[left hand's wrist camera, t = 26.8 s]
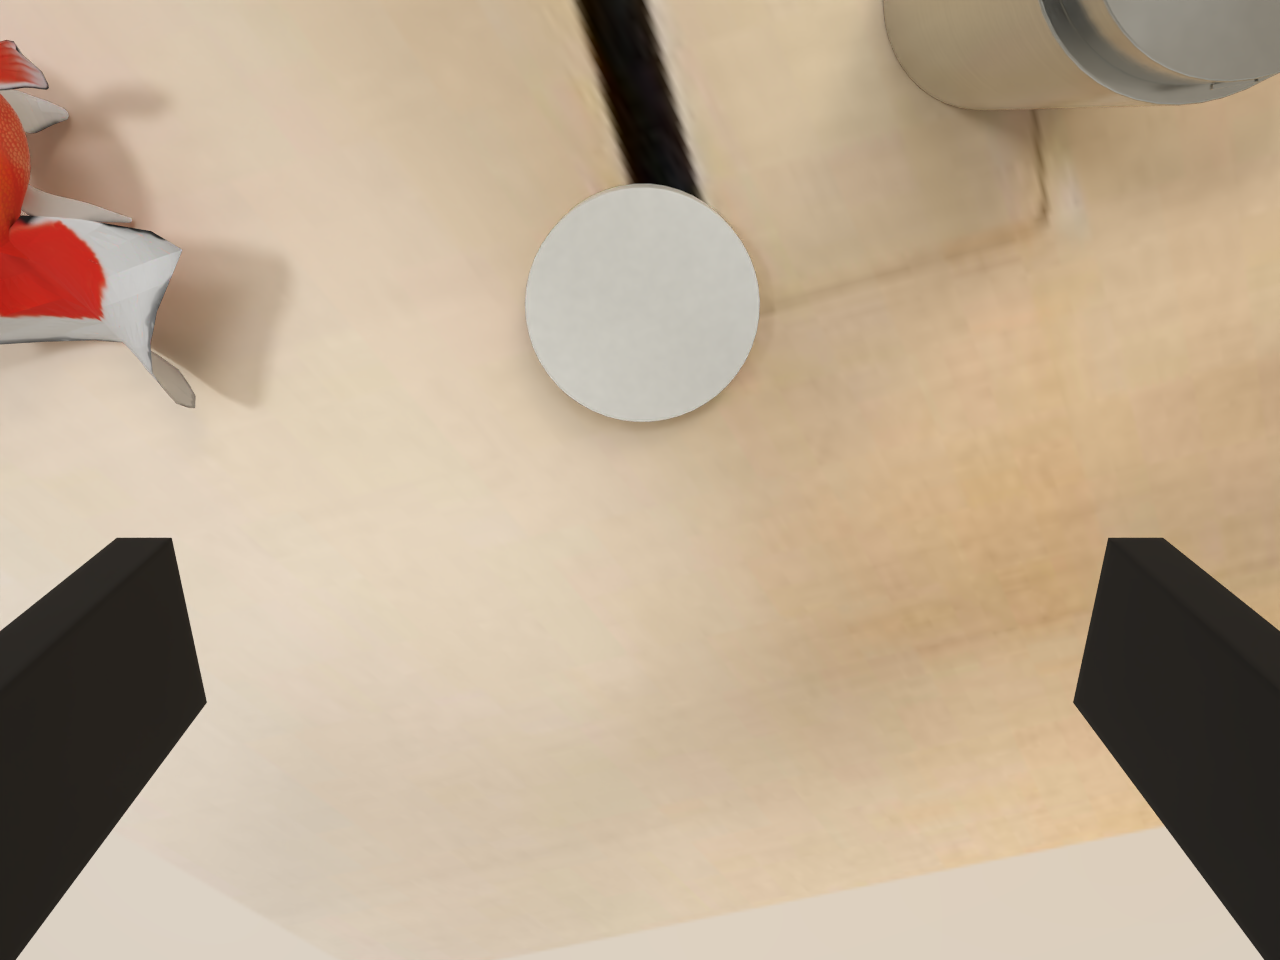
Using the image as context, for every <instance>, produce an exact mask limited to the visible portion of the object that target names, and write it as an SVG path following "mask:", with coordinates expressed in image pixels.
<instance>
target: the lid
mask: <svg viewBox="0 0 1280 960" xmlns="http://www.w3.org/2000/svg"><path fill="white" fill-rule="evenodd" d="M759 310H760V298H759V286H758V282H757V277H756V273H755V270H754V267H753V264H752V261H751V259H750V256H749V254H748V252H747V250H746V249H745V247H744V245H743V243H742V241H741V240H740V239H739V237H738V236H737V234H736V233H735V232H734V230H733V229H732V228H731V227H730V225H729V224H728V223H727V222H726V221H725V220H724V219H723V218H722V217H721V216H720V215H719V214H718V213H717V212H716V211H715V210H714V209H712V208H711V207H710V206H709V205H707V204H706V203H704V202H703V201H701V200H699V199H698V198H696V197H694V196H693V195H690V194H688V193H686V192H683V191H681V190H678V189H675V188H671V187H668V186H663V185H656V184H629V185H622V186H617V187H614V188H610V189H607V190H604V191H601V192H599V193H597V194H595V195H592V196H590V197H589V198H587V199H585V200H584V201H582V202H580V203H579V204H577V205H576V206H575V207H574V208H572V209H571V210H570V211H569V212H568V213H566V214H565V215H564V217H563V218H562V219H561V220H560V221H559V222H558V223H557V224H556V225H555V226H554V228H553V229H552V230H551V232H550V233H549V234H548V236H547V237H546V239H545V240H544V242H543V243H542V245H541V247H540V248H539V250H538V252H537V254H536V256H535V258H534V261H533V264H532V267H531V270H530V272H529V277H528V282H527V286H526V296H525V313H526V322H527V328H528V333H529V336H530V339H531V343H532V346H533V348H534V351H535V353H536V355H537V357H538V359H539V361H540V363H541V364H542V366H543V367H544V369H545V371H546V372H547V374H548V375H549V376H550V377H551V379H552V380H553V381H554V382H555V383H556V385H557V386H558V387H559V388H561V389H562V390H563V391H564V392H565V393H566V394H567V395H568V396H569V397H571V398H572V399H574V400H575V401H576V402H578V403H579V404H581V405H583V406H585V407H586V408H588V409H590V410H592V411H594V412H597V413H599V414H602V415H604V416H607V417H611V418H615V419H619V420H625V421H634V422H651V421H659V420H666V419H670V418H673V417H677V416H680V415H683V414H685V413H688V412H690V411H693V410H695V409H696V408H698V407H700V406H702V405H704V404H706V403H707V402H708V401H710V400H711V399H712V398H714V397H715V396H716V395H718V394H719V393H720V392H721V391H722V390H723V389H724V388H725V387H726V386H727V385H728V384H729V383H730V382H731V381H732V379H733V378H734V377H735V376H736V375H737V373H738V372H739V370H740V369H741V367H742V365H743V364H744V362H745V361H746V359H747V356H748V354H749V352H750V350H751V348H752V345H753V342H754V339H755V336H756V332H757V327H758V321H759Z"/></svg>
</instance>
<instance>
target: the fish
mask: <svg viewBox="0 0 1280 960" xmlns="http://www.w3.org/2000/svg"><path fill="white" fill-rule="evenodd" d="M18 88H38V89H46V90H47V89H48V88H49V87H48V83H47V81H46V79H45V77H44V75H43V73H42V71H40V70H39V69H38V68H37V67H36V66H35V65H34V64H33V63H32V62H30V61H29V60H28V59H27V58H26V57H25V56H24V55H23V54H22V53H21V51H20V50H19V48H18V47H17V46H16V44H15V43H14V41H9V40H5V41H1V42H0V344H13V343H30V342H47V341H81V340H100V341H113V342H123V343H124V344H125V345H126V346H127V347H128V348H129V349H130V350H131V351H132V352H133V353H134V354H135V356H136V357H137V358H138V359H139V360H140V361H141V363H142V364H143V365H144V367H145V368H146V369H147V371H148V372H149V373H150V374H151V375H152V376H153V377H154V378H155V379H156V380H157V382H158V383H159V384H160V385H161V386H162V388H163V389H164V390H165V391H166V392H167V393H168V395H169V396H170V397H171V398H172V399H173V400H174V401H175V402H176V403H177V404H180V405H182V406H185V407H189V408H195V394H194V392H193V391H192V389H191V387H190V386H189V384H188V382H187V381H186V380H185V378H184V377H183V375H182V374H181V372H180V371H179V370H178V369H177V368H176V367H174V366H173V365H171V364H170V363H169V362H167V361H166V360H164V359H163V358H162V357H160V356H158V355H157V354H155V353H154V352H152V351H151V346H150V345H151V339H152V334H153V329H154V324H155V319H156V313H157V310H158V308H159V305H160V303H161V300H162V298H163V296H164V293H165V291H166V289H167V286H168V284H169V281H170V279H171V277H172V274H173V272H174V269H175V267H176V264H177V262H178V259H179V257H180V255H181V252H182V249H181V248H179V247H177V246H175V245H174V244H172V243H170V242H169V241H167V240H165V239H163V238H162V237H160V236H158V235H157V234H155V233H153V232H151V231H146V230H140V229H135V228H129V227H123V226H117V225H111V224H105V223H99V222H122V223H130V222H132V218H130V217H127V216H124V215H121V214H118V213H115V212H112V211H109V210H107V209H104V208H101V207H98V206H95V205H92V204H89V203H86V202H82V201H78V200H74V199H69V198H65V197H60V196H56V195H53V194H49V193H46V192H44V191H41V190H39V189H36V188H35V187H33V186H31V185H30V184H28V183H29V179H30V169H31V164H30V153H29V147H28V142H27V138H26V134H25V132H28V133H37V132H39V131H41V130H43V129H45V128H47V127H49V126H51V125H53V124H56V123H59V122H62V121H64V120H67V119H68V117H69V115H68V112H67V111H66V110H65V109H64V108H63V107H61V106H58V105H56V104H54V103H51V102H49V101H46V100H43V99H40V98H38V97H35V96H32V95H29V94H26V93H24V92H20V91H16V90H10V89H18ZM21 210H22V211H23V212H25V213H26V214H28V215H30V216H21V215H20V214H21Z"/></svg>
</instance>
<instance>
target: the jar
mask: <svg viewBox="0 0 1280 960" xmlns="http://www.w3.org/2000/svg"><path fill="white" fill-rule="evenodd" d="M883 9H884V18H885V25H886V29H887V33H888V38H889V41H890V43H891V46H892V49H893V51H894V54H895V56H896V57H897V59H898V61H899V63H900V65H901V66H902V68H903V69H904V70H905V72H906V73H907V75H908V76H909V77H910V78H911V79H912V80H913V81H914V82H915V83H916V84H917V85H918V86H919V87H920V88H921V89H922V90H923V91H925V92H926V93H928V94H929V95H930V96H932V97H934V98H936V99H937V100H939V101H941V102H943V103H946V104H949V105H951V106H954V107H958V108H963V109H968V110H1020V109H1058V108H1096V107H1134V106H1172V105H1187V104H1197V103H1203V102H1207V101H1212V100H1216V99H1220V98H1224V97H1227V96H1230V95H1232V94H1235V93H1238V92H1240V91H1243V90H1246V89H1248V88H1250V87H1252V86H1254V85H1256V84H1258V83H1260V82H1262V81H1264V80H1266V79H1268V78H1269V77H1271V76H1274V75H1276V74H1278V73H1280V0H883Z"/></svg>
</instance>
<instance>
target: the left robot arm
mask: <svg viewBox="0 0 1280 960" xmlns="http://www.w3.org/2000/svg"><path fill="white" fill-rule="evenodd" d="M206 703H207V701H206V697H205V692H204V687H203V683H202V678H201V673H200V669H199V664H198V659H197V655H196V650H195V645H194V640H193V636H192V631H191V626H190V622H189V617H188V612H187V608H186V603H185V598H184V594H183V589H182V584H181V580H180V575H179V570H178V565H177V561H176V556H175V551H174V547H173V542H172V538H116V539H115V540H114V541H112V542H111V543H110V544H109V545H107V546H106V547H105V548H104V549H102V550H101V551H100V552H99V553H97V554H96V555H95V556H94V557H92V558H91V559H90V560H89V561H87V562H86V563H85V564H84V565H82V566H81V567H80V568H79V569H77V570H76V571H75V572H74V573H72V574H71V575H70V576H69V577H67V578H66V579H65V580H64V581H62V582H61V583H60V584H59V585H57V586H56V587H55V588H54V589H52V590H51V591H50V592H49V593H47V594H46V595H45V596H44V597H42V598H41V599H40V600H39V601H37V602H36V603H35V604H34V605H32V606H31V607H30V608H29V609H27V610H26V611H25V612H24V613H22V614H21V615H20V616H19V617H17V618H16V619H15V620H14V621H12V622H11V623H10V624H9V625H7V626H6V627H5V628H4V629H2V630H1V631H0V960H16V959H17V957H18V956H19V955H20V953H21V952H22V950H23V949H24V948H25V946H26V945H27V944H28V942H29V941H30V940H31V938H32V937H33V936H34V934H35V933H36V932H37V930H38V929H39V928H40V926H41V925H42V924H43V922H44V921H45V920H46V918H47V917H48V915H49V914H50V913H51V911H52V910H53V909H54V907H55V906H56V905H57V903H58V902H59V901H60V899H61V898H62V897H63V895H64V894H65V893H66V891H67V890H68V889H69V887H70V886H71V885H72V883H73V882H74V880H75V879H76V878H77V876H78V875H79V874H80V872H81V871H82V870H83V868H84V867H85V866H86V864H87V863H88V862H89V860H90V859H91V858H92V856H93V855H94V854H95V852H96V851H97V850H98V848H99V847H100V845H101V844H102V843H103V841H104V840H105V839H106V837H107V836H108V835H109V833H110V832H111V831H112V829H113V828H114V827H115V825H116V824H117V823H118V821H119V820H120V819H121V817H122V816H123V815H124V813H125V812H126V811H127V809H128V808H129V806H130V805H131V804H132V802H133V801H134V800H135V798H136V797H137V796H138V794H139V793H140V792H141V790H142V789H143V788H144V786H145V785H146V784H147V782H148V781H149V780H150V778H151V777H152V776H153V774H154V773H155V772H156V770H157V769H158V767H159V766H160V765H161V763H162V762H163V761H164V759H165V758H166V757H167V755H168V754H169V753H170V751H171V750H172V749H173V747H174V746H175V745H176V743H177V742H178V741H179V739H180V738H181V737H182V735H183V734H184V732H185V731H186V730H187V728H188V727H189V726H190V724H191V723H192V722H193V720H194V719H195V718H196V716H197V715H198V714H199V712H200V711H201V710H202V708H203V707H204V706H205V704H206ZM1073 703H1074V704H1075V706H1076V707H1077V708H1078V710H1079V711H1080V712H1081V714H1082V715H1083V716H1084V718H1085V719H1086V720H1087V722H1088V723H1089V724H1090V726H1091V727H1092V728H1093V730H1094V731H1095V732H1096V734H1097V735H1098V737H1099V738H1100V739H1101V741H1102V742H1103V743H1104V745H1105V746H1106V747H1107V749H1108V750H1109V751H1110V753H1111V754H1112V755H1113V757H1114V758H1115V759H1116V761H1117V762H1118V763H1119V765H1120V766H1121V767H1122V769H1123V770H1124V772H1125V773H1126V774H1127V776H1128V777H1129V778H1130V780H1131V781H1132V782H1133V784H1134V785H1135V786H1136V788H1137V789H1138V790H1139V792H1140V793H1141V794H1142V796H1143V797H1144V798H1145V800H1146V801H1147V802H1148V804H1149V805H1150V806H1151V808H1152V809H1153V811H1154V812H1155V813H1156V815H1157V816H1158V817H1159V819H1160V820H1161V821H1162V823H1163V824H1164V825H1165V827H1166V828H1167V829H1168V831H1169V832H1170V833H1171V835H1172V836H1173V837H1174V839H1175V840H1176V841H1177V843H1178V844H1179V845H1180V847H1181V848H1182V850H1183V851H1184V852H1185V854H1186V855H1187V856H1188V858H1189V859H1190V860H1191V862H1192V863H1193V864H1194V866H1195V867H1196V868H1197V870H1198V871H1199V872H1200V874H1201V875H1202V876H1203V878H1204V879H1205V881H1206V882H1207V883H1208V885H1209V886H1210V887H1211V889H1212V890H1213V891H1214V893H1215V894H1216V895H1217V897H1218V898H1219V899H1220V901H1221V902H1222V903H1223V905H1224V906H1225V907H1226V909H1227V910H1228V911H1229V913H1230V914H1231V916H1232V917H1233V918H1234V920H1235V921H1236V922H1237V924H1238V925H1239V926H1240V928H1241V929H1242V930H1243V932H1244V933H1245V934H1246V936H1247V937H1248V938H1249V940H1250V941H1251V942H1252V944H1253V945H1254V946H1255V948H1256V949H1257V950H1258V952H1259V953H1260V954H1261V956H1262V957H1263V959H1264V960H1280V631H1279V630H1278V629H1276V628H1275V627H1274V626H1273V625H1271V624H1270V623H1269V622H1268V621H1266V620H1265V619H1264V618H1263V617H1261V616H1260V615H1259V614H1258V613H1256V612H1255V611H1254V610H1253V609H1251V608H1250V607H1249V606H1248V605H1246V604H1245V603H1244V602H1243V601H1241V600H1240V599H1239V598H1238V597H1236V596H1235V595H1234V594H1233V593H1231V592H1230V591H1229V590H1228V589H1226V588H1225V587H1224V586H1223V585H1221V584H1220V583H1219V582H1218V581H1216V580H1215V579H1214V578H1213V577H1211V576H1210V575H1209V574H1208V573H1206V572H1205V571H1204V570H1203V569H1201V568H1200V567H1199V566H1198V565H1196V564H1195V563H1194V562H1193V561H1191V560H1190V559H1189V558H1188V557H1186V556H1185V555H1184V554H1183V553H1181V552H1180V551H1179V550H1178V549H1176V548H1175V547H1174V546H1173V545H1171V544H1170V543H1169V542H1168V541H1166V540H1165V539H1164V538H1108V542H1107V547H1106V551H1105V556H1104V561H1103V565H1102V570H1101V575H1100V580H1099V584H1098V589H1097V594H1096V598H1095V603H1094V608H1093V612H1092V617H1091V622H1090V626H1089V631H1088V636H1087V640H1086V645H1085V650H1084V655H1083V659H1082V664H1081V669H1080V673H1079V678H1078V683H1077V687H1076V692H1075V697H1074V701H1073Z"/></svg>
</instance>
